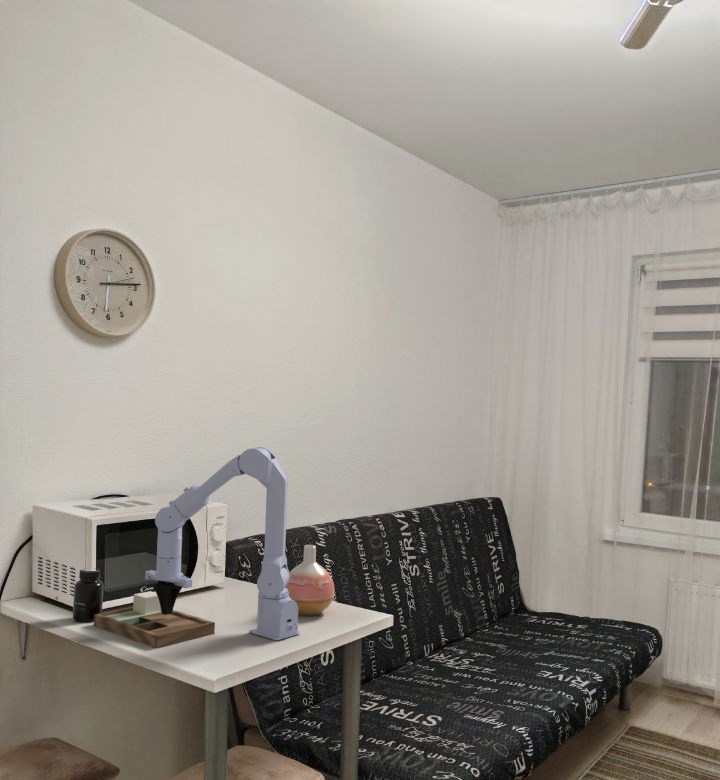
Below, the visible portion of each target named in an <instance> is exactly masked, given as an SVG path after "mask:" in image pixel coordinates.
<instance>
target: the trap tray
mask: <svg viewBox="0 0 720 780" xmlns="http://www.w3.org/2000/svg"><path fill="white" fill-rule="evenodd" d="M215 624H216V623H215V622H214V621H212V620H207V619H205V618H203V617H202V618H201V617H197V616H195V615H192V614H187V613H184V612H181V611H178V610H174V609H173V611H172V613H171V614H167V615H164V614H162V612H161V611H159V612H155V613H150V614H142V613H139V612H136V611H133V606H130V607H124V608H119V609H116V610H110V611H109V610H108V611H105V612H102V613H99V614H94V622H93V626H94V627H96V628H100V629H103V630H104V631H105V630H106V631H108V632H110V633H114V634H116V635H120V636H121V637H125V638H127V639H131V640H133V641H135V642H139V643H141V644H144V645H147V646H150V647H153V648H156V649H160V648H163V647H168V646H172V645H175V644H176V645H177V644H180V643H183V642H187V641H191V640H195V639H199V638H203V637H207V636H210V635H211V636H212V635H215V632H216V631H215V630H216V629H215V628H216V625H215Z"/></svg>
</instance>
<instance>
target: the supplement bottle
mask: <svg viewBox="0 0 720 780" xmlns="http://www.w3.org/2000/svg"><path fill="white" fill-rule="evenodd" d="M97 569H98V570H96V571H85V570H82V569H80V570H79V573H78V574H79V576H78V578H79V580H77V581H76V582H75V584H74V587H73V588H74V589H73V603H72V605H73V606H72V619H74V620H73V621H75V622H77V621H78V622H77V623H94V614H99V613H103V602H104V582H103V581H102V580H101V579H100V578H101V569H99V568H97Z"/></svg>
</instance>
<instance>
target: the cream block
mask: <svg viewBox="0 0 720 780" xmlns="http://www.w3.org/2000/svg"><path fill="white" fill-rule="evenodd" d="M132 601H133V605H132V607H133V611H136V612H139V613H142V614H150V613H155V612H159V611H161V607H160V603H159V599H158V596H157V594H156V592H154V591H151V590H149V591H144V592H138V593H135V594H133V600H132Z"/></svg>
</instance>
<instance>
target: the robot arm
mask: <svg viewBox="0 0 720 780" xmlns="http://www.w3.org/2000/svg"><path fill="white" fill-rule="evenodd" d="M243 475H247V476H249V477H251V478H254V479H256V480H257V481H258V482H259V483H260V484H261V485H263V486H264V487H265V488H266V489H265V490H266V498H265V499H266V503H265V526H264V528H265V529H264V551H263V552H264V553H263V554H264V555H263V559H262V563H261V570H260V573H259V576H258V578H257V581H256V586H257V590H258V592H257V593H258V595H257V616H256V617H257V618H256V619H257V621H256V628H253V629H249V630H248V633H249V634H253V635H257V636H259V637H260V636H261V637H264V638H266V639H270V640H273V641H279V640H283V639H285V638H290V637H293V636H297V635H300V634H301V632H300V631H298V630H299V629H298V628H299V627H298V626H299V615H298V605H297V603H296V602H295V601H294V600H292V599H291V598H290V597H289V592H288V590H287V588H286V586H287V585H288V583H289V581H290V572H291V571H290V570H289V568H288V559H287V555H286V538H287V537H286V536H287V535H286V534H287V513H288V511H287V508H288V506H287V505H288V478H287V476H286V473H285V472H284V470H283V468H282V467H281V465H280V463H279V461H278V458H277V456H276V455H275V453H272V452H271V451H270V450H269V449H268V448H265V447H262V446H257V447H254V448H248V449H246V450H243V452H241V454H238V455H236V456H235V457H233V458H232V459H231V460H229V461H228V462H226V463H225V464H224V465H223V466H222V467H220V468H219V470H217V471H216V472H215V473H214V474H212V475H211V476H210V477H209V478H208V479H207V480H206V481H205V482H203V483H202V484H201V485H196V484H195V485H192V486H187V487H185V488H184V489H183V493H182V494H181V495H179V496H178V497H177V498H175V499H172V500H170V501H169V502H168V505H169V506H165V507H162V508H160V509H159V511H158V512H157V513H156V515H155V518H154V523H155V526H156V527H157V541H156V542H157V543H156V544H157V545H156V546H157V549H156V570H153V569H151V570H146V571H144V572H145V575H144V580H147V581H149V580H150V581H151V580H152V581H156V582H157V583H156V584H153V585H152V588H153V590H154V591H155V593H156V594H157V596H158V599H159V603H160V607H161V612H162V614H164V615H167V614H171V613H172V611H173V610H174V607H175V604H176V601H177V599H178V597H179V595H180V592H181V590H183V589H189V588H193V578H189V577H188V576H185V575H184V573H183V572H182V549H183V548H182V546H183V526H184V525H185V524H186V522H187V521H188V520H190V519H191V518H192V517H194V516H195V515H196V514H197V513H199V512H200V511H201V510H202V509H204V508H205V507H206V506H208V505H209V499H210V496H211V495H212V494H213V493H215V492H216V491H218V490H219V489H220V488H222V487H223V486H224V485H226V484H227V483H228V482H229V481H231V480H233V478H235V477H239V476H243Z"/></svg>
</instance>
